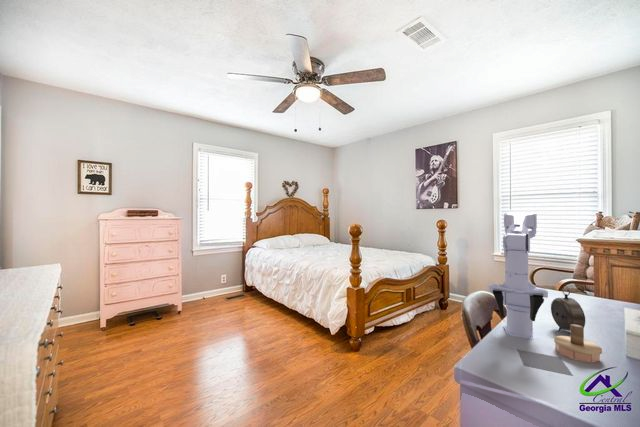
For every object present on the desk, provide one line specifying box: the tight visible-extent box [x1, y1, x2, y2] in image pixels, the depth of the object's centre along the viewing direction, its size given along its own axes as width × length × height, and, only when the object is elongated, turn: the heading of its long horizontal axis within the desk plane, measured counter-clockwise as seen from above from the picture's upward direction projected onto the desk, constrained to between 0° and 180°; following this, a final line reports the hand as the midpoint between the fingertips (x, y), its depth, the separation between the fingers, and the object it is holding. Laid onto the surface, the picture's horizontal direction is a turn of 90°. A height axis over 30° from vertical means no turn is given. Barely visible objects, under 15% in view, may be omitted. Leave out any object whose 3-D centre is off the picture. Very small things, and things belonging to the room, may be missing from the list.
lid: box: [553, 324, 603, 355], centre depth 78 cm, size 10×10×6 cm
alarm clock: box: [550, 285, 586, 332], centre depth 95 cm, size 11×5×16 cm, turn 168°
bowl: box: [554, 342, 601, 363], centre depth 79 cm, size 9×9×3 cm
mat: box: [516, 348, 574, 377], centre depth 74 cm, size 10×10×1 cm
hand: (516, 317), depth 82 cm, fingers open, 7 cm apart
